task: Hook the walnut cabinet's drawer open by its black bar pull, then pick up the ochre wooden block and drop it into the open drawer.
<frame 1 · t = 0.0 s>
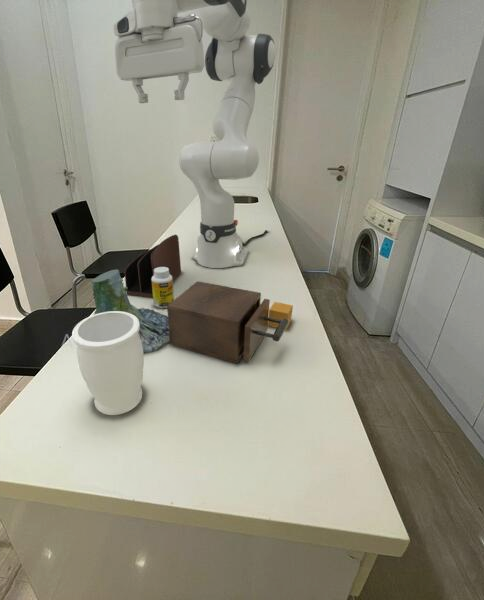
hand: (161, 101, 73), 48 cm above the table, tool pointing down, fingers open, 8 cm apart
jar: (119, 398, 59), on the table
supplement bottle: (164, 304, 91), on the table
drawer: (237, 323, 71), point 5 cm above the table, slide at 1.0 cm
letter holder: (155, 283, 103), on the table
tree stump: (131, 334, 78), on the table
block: (279, 323, 79), on the table
cabinet: (215, 337, 75), on the table
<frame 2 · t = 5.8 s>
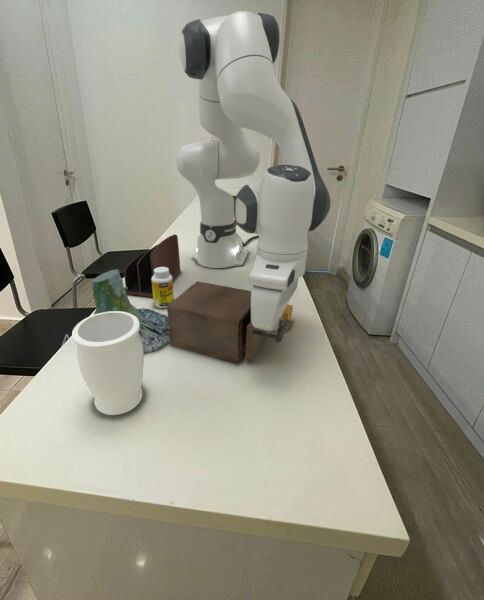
hand: (274, 327, 66), 6 cm above the table, tool pointing down, fingers closed
drawer: (239, 324, 70), point 5 cm above the table, slide at 1.4 cm, touching gripper
everything else where it was.
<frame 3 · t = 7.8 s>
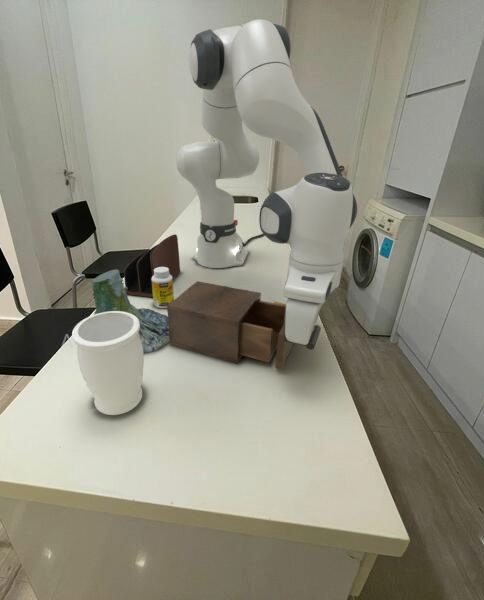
hand: (304, 338, 64), 5 cm above the table, tool pointing down, fingers closed, pressing on drawer
drawer: (267, 330, 68), point 5 cm above the table, slide at 7.4 cm, touching gripper
everything else where it was.
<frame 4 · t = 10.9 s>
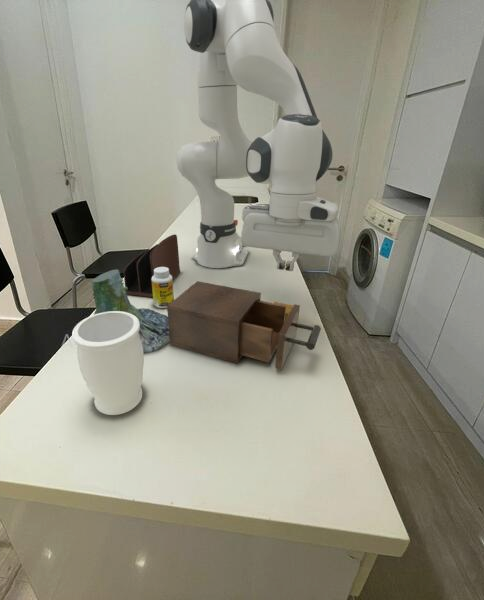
hand: (285, 269, 73), 14 cm above the table, tool pointing down, fingers closed
drawer: (267, 330, 68), point 5 cm above the table, slide at 7.4 cm
everything else where it was.
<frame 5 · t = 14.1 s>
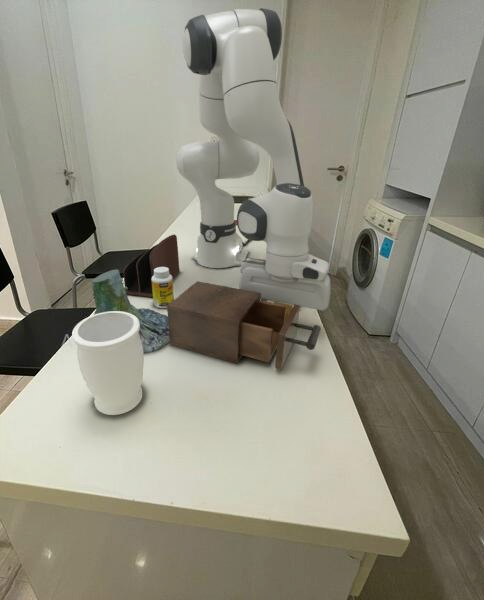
hand: (280, 317, 79), 2 cm above the table, tool pointing down, fingers closed on block, 4 cm apart
block: (279, 323, 79), on the table, touching gripper
everything else where it was.
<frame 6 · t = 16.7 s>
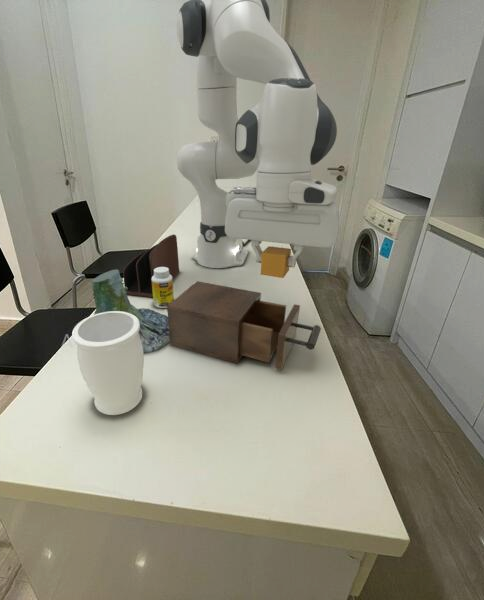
hand: (275, 264, 63), 19 cm above the table, tool pointing down, fingers closed on block, 4 cm apart
block: (274, 272, 64), point 17 cm above the table, touching gripper
everything else where it was.
when the fingers open (11 cm above the table, at t = 19.3 s): block drops 7 cm, resting on drawer.
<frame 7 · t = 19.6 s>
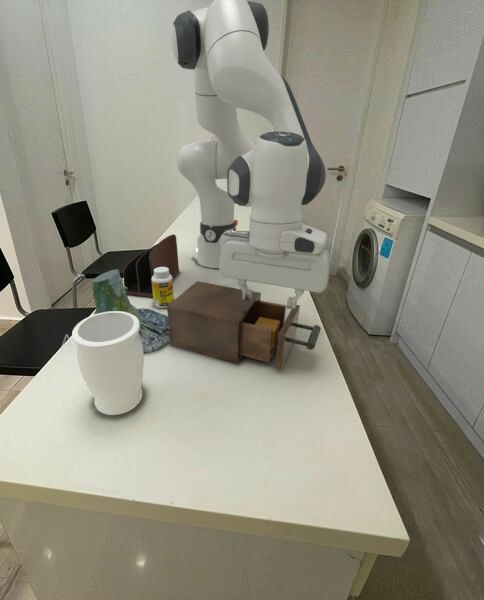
hand: (268, 303, 65), 11 cm above the table, tool pointing down, fingers open, 7 cm apart
drawer: (267, 330, 68), point 5 cm above the table, slide at 7.4 cm, touching block
block: (265, 341, 69), point 2 cm above the table, touching drawer
everything else where it was.
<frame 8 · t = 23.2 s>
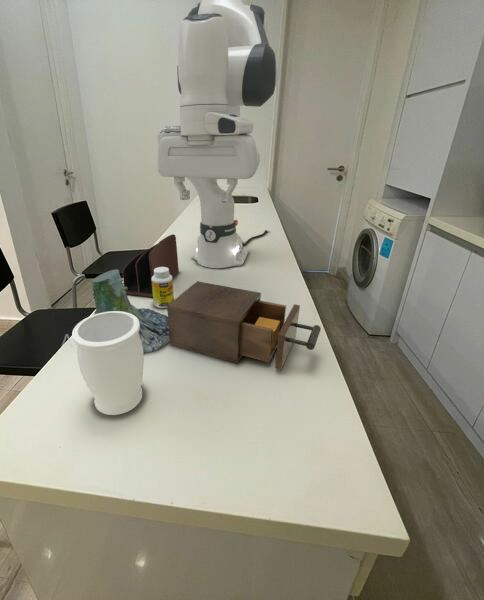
hand: (205, 200, 68), 29 cm above the table, tool pointing down, fingers open, 8 cm apart
nothing on the table moved.
at the end: drawer slide at 7.4 cm; block inside the target area in the drawer (0.0 cm from its centre), point 2.1 cm above the cabinet's base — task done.
